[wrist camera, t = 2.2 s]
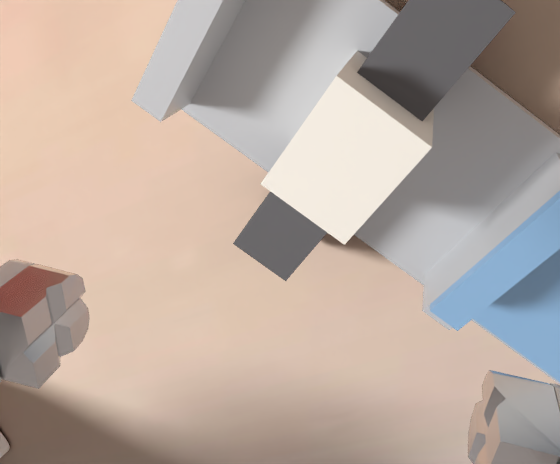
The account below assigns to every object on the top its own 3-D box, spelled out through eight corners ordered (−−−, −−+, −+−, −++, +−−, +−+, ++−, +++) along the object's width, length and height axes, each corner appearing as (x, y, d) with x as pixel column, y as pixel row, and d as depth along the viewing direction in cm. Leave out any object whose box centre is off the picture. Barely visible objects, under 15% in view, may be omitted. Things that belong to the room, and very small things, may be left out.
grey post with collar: (308, 254, 27) (283, 312, 22) (245, 209, 26) (207, 259, 22) (516, 12, 19) (537, 30, 15) (431, -55, 19) (428, -56, 15)
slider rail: (670, 454, 28) (707, 535, 24) (168, 88, 25) (120, 113, 22) (859, 364, 23) (942, 447, 19) (260, -95, 21) (220, -105, 17)
